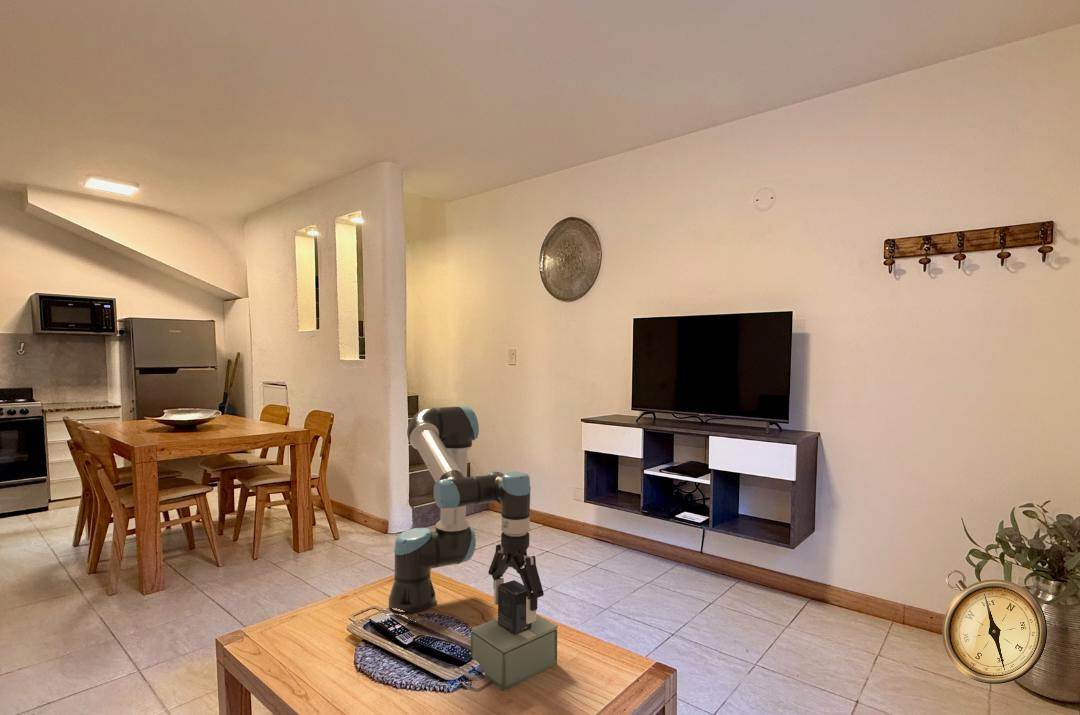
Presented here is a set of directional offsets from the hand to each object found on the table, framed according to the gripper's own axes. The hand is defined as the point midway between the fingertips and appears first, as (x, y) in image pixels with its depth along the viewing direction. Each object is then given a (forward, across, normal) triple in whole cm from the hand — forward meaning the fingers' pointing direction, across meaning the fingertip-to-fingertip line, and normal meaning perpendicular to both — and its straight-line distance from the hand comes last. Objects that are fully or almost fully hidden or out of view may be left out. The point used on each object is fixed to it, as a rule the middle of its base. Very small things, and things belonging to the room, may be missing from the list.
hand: (514, 612), depth 139 cm
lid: (+4, 0, 0) cm, 4 cm away
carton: (+14, 0, 0) cm, 14 cm away
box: (+4, 0, 0) cm, 4 cm away
